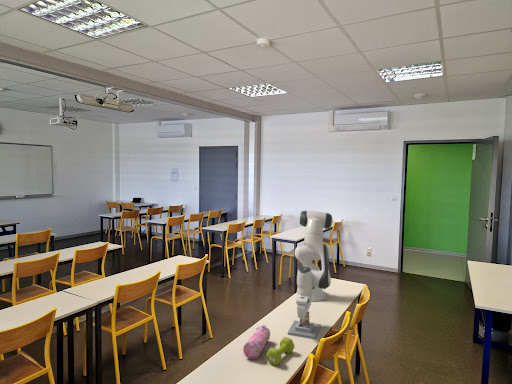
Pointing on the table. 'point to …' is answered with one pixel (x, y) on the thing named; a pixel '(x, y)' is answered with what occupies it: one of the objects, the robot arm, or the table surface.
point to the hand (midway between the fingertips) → (304, 319)
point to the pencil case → (256, 342)
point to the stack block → (305, 319)
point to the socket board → (304, 330)
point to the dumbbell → (280, 351)
